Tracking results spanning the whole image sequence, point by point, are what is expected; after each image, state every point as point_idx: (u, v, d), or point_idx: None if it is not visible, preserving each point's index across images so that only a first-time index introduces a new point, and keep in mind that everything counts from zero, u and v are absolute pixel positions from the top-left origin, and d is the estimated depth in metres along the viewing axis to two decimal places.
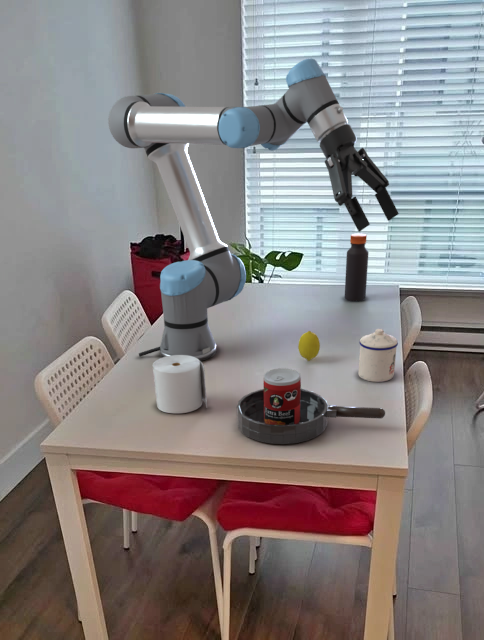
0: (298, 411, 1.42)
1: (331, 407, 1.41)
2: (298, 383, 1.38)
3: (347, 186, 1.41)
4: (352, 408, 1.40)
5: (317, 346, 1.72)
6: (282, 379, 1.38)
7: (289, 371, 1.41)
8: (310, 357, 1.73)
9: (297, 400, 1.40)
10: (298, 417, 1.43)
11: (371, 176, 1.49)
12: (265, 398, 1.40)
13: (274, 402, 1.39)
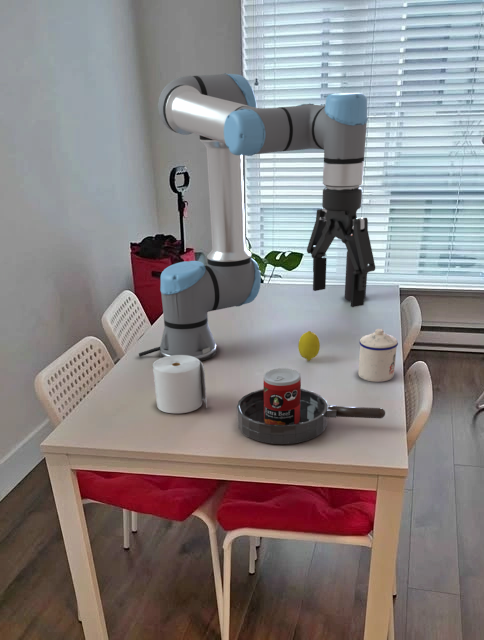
0: (298, 411, 1.42)
1: (331, 407, 1.41)
2: (298, 383, 1.38)
3: None
4: (352, 408, 1.40)
5: (317, 346, 1.72)
6: (282, 379, 1.38)
7: (289, 371, 1.41)
8: (310, 357, 1.73)
9: (297, 400, 1.40)
10: (298, 417, 1.43)
11: (330, 243, 1.38)
12: (265, 398, 1.40)
13: (274, 402, 1.39)
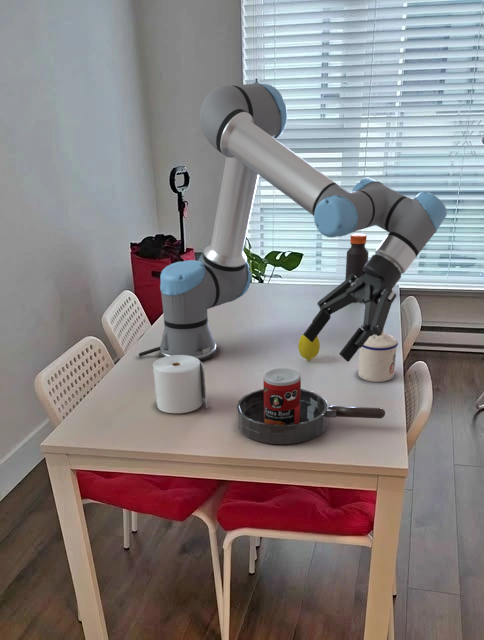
0: (298, 411, 1.42)
1: (331, 407, 1.41)
2: (298, 383, 1.38)
3: None
4: (352, 408, 1.40)
5: (317, 346, 1.72)
6: (282, 379, 1.38)
7: (289, 371, 1.41)
8: (310, 357, 1.73)
9: (297, 400, 1.40)
10: (298, 417, 1.43)
11: (343, 306, 1.44)
12: (265, 398, 1.40)
13: (274, 402, 1.39)
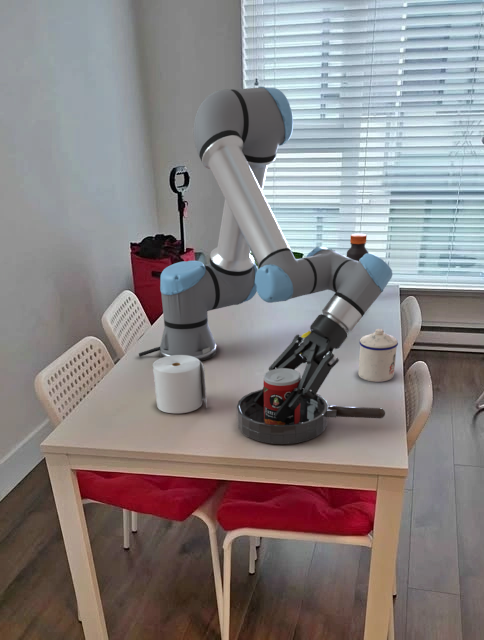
0: (298, 411, 1.42)
1: (331, 407, 1.41)
2: (298, 383, 1.38)
3: None
4: (352, 408, 1.40)
5: None
6: (282, 379, 1.38)
7: (289, 371, 1.41)
8: None
9: None
10: (298, 417, 1.43)
11: (293, 368, 1.44)
12: (265, 398, 1.40)
13: (275, 402, 1.39)
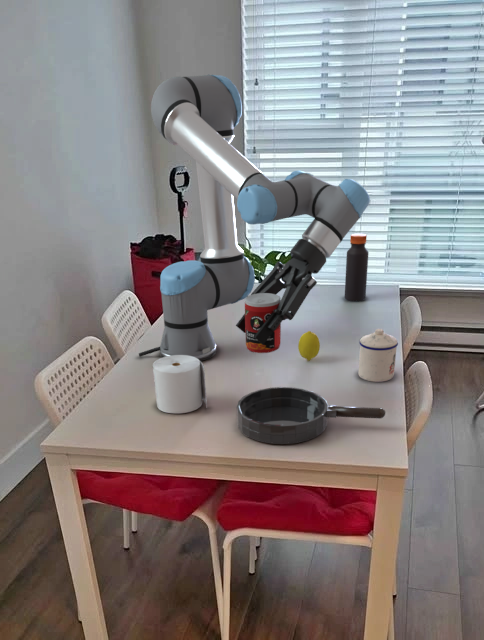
0: (278, 334, 1.46)
1: (331, 407, 1.41)
2: (277, 305, 1.42)
3: None
4: (352, 408, 1.40)
5: (317, 346, 1.72)
6: (263, 301, 1.43)
7: (269, 295, 1.46)
8: (310, 357, 1.73)
9: None
10: (278, 341, 1.47)
11: (274, 293, 1.48)
12: (246, 321, 1.45)
13: (255, 324, 1.43)
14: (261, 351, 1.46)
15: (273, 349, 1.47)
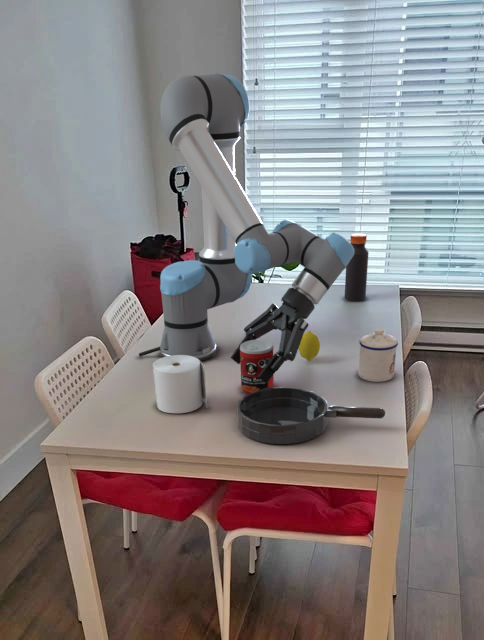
0: (271, 378, 1.58)
1: (331, 407, 1.41)
2: (270, 352, 1.54)
3: None
4: (352, 408, 1.40)
5: (317, 346, 1.72)
6: (256, 348, 1.55)
7: (263, 342, 1.58)
8: (310, 357, 1.73)
9: None
10: (271, 383, 1.59)
11: (265, 332, 1.61)
12: (241, 366, 1.57)
13: (250, 369, 1.55)
14: None
15: None
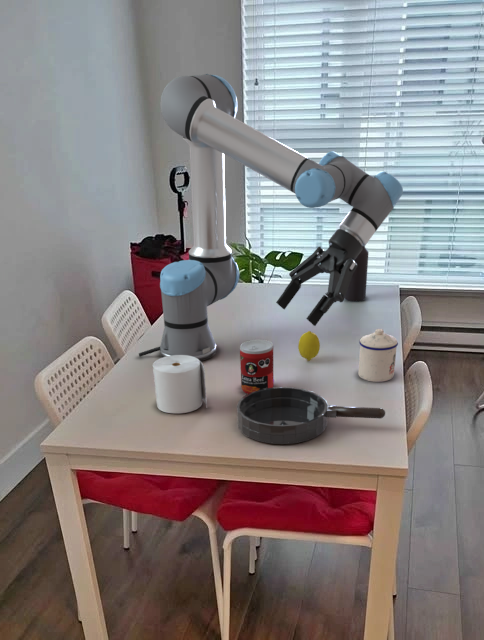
0: (271, 378, 1.58)
1: (331, 407, 1.41)
2: (270, 352, 1.54)
3: None
4: (352, 408, 1.40)
5: (317, 346, 1.72)
6: (256, 348, 1.55)
7: (263, 342, 1.58)
8: (310, 357, 1.73)
9: (270, 368, 1.56)
10: (271, 383, 1.59)
11: (312, 276, 1.60)
12: (241, 366, 1.57)
13: (250, 369, 1.55)
14: None
15: None
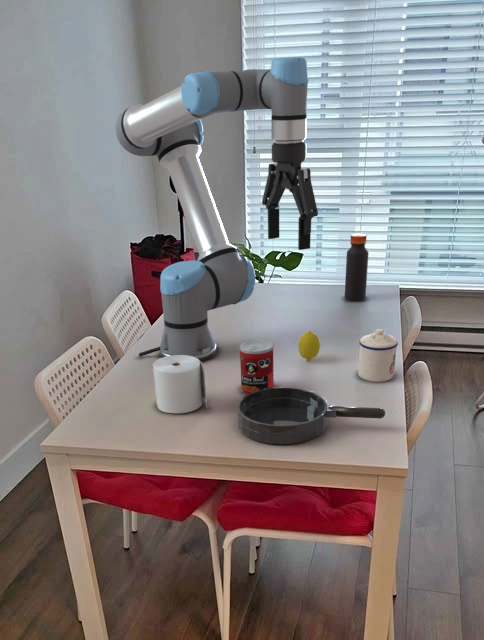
0: (271, 378, 1.58)
1: (331, 407, 1.41)
2: (270, 352, 1.54)
3: None
4: (352, 408, 1.40)
5: (317, 346, 1.72)
6: (256, 348, 1.55)
7: (263, 342, 1.58)
8: (310, 357, 1.73)
9: (270, 368, 1.56)
10: (271, 383, 1.59)
11: (281, 194, 1.55)
12: (241, 366, 1.57)
13: (250, 369, 1.55)
14: None
15: None
